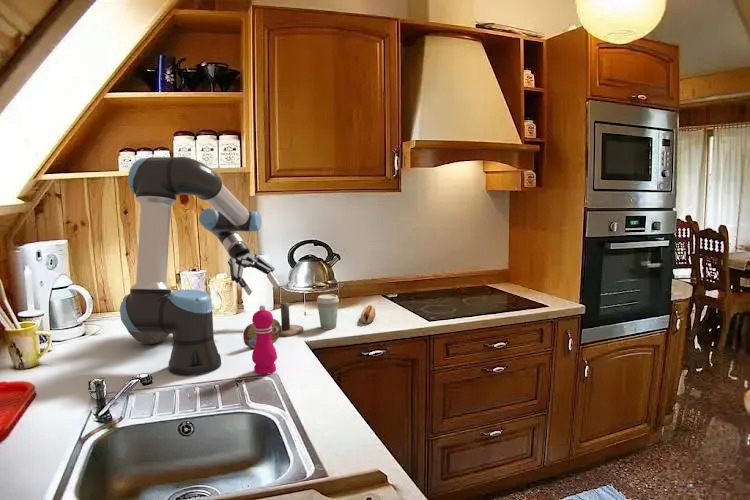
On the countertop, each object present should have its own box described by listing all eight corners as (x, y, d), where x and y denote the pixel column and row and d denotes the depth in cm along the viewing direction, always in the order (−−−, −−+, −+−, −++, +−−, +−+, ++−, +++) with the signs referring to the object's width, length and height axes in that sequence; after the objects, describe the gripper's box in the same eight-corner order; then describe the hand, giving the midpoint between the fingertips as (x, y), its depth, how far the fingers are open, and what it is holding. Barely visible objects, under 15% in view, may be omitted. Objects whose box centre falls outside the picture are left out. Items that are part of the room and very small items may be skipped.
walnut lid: (291, 338, 189) (290, 308, 187) (261, 335, 194) (259, 305, 193) (310, 329, 201) (308, 300, 199) (281, 325, 206) (279, 298, 204)
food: (373, 325, 205) (373, 312, 204) (359, 324, 205) (359, 312, 205) (376, 315, 219) (376, 303, 218) (363, 315, 219) (363, 303, 219)
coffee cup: (336, 330, 197) (335, 299, 196) (314, 329, 199) (313, 298, 198) (342, 324, 206) (341, 294, 204) (321, 323, 207) (320, 293, 206)
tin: (248, 351, 176) (247, 326, 174) (242, 349, 177) (240, 325, 176) (282, 340, 187) (281, 316, 186) (275, 338, 189) (274, 315, 188)
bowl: (151, 354, 174) (149, 324, 173) (111, 347, 182) (108, 318, 181) (192, 338, 191) (191, 311, 190) (154, 332, 199) (152, 306, 198)
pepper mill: (266, 377, 152) (263, 309, 149) (247, 373, 156) (244, 306, 153) (282, 369, 158) (279, 303, 156) (263, 365, 162) (260, 301, 159)
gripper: (256, 250, 220) (283, 289, 213) (205, 258, 200) (234, 302, 193) (264, 238, 216) (292, 278, 210) (214, 245, 196) (243, 289, 190)
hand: (264, 289), depth 202 cm, fingers open, 13 cm apart
